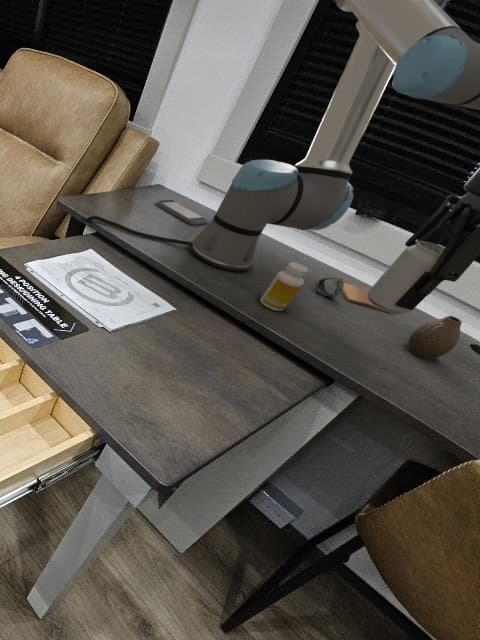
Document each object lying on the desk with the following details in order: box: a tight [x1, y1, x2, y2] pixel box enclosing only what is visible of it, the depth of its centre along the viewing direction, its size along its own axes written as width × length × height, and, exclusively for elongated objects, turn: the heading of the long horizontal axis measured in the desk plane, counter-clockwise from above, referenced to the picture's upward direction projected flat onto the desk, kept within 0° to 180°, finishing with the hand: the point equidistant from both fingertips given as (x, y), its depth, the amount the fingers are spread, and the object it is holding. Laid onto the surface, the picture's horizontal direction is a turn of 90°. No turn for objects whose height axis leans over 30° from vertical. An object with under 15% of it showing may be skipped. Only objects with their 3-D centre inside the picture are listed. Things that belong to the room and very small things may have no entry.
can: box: [367, 241, 446, 315], centre depth 83 cm, size 8×8×12 cm
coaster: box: [341, 282, 388, 313], centre depth 114 cm, size 10×10×1 cm
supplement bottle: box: [259, 261, 309, 312], centre depth 100 cm, size 5×5×10 cm
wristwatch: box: [315, 276, 345, 298], centre depth 110 cm, size 3×5×5 cm
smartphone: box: [156, 199, 209, 226], centre depth 139 cm, size 7×1×15 cm
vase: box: [407, 315, 463, 359], centre depth 94 cm, size 7×7×9 cm
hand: (395, 296), depth 86 cm, fingers closed on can, 7 cm apart
